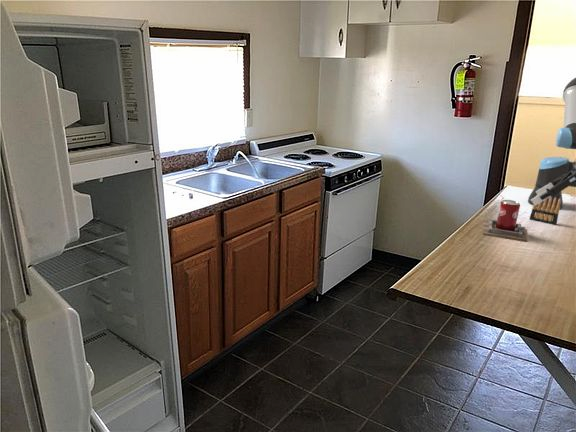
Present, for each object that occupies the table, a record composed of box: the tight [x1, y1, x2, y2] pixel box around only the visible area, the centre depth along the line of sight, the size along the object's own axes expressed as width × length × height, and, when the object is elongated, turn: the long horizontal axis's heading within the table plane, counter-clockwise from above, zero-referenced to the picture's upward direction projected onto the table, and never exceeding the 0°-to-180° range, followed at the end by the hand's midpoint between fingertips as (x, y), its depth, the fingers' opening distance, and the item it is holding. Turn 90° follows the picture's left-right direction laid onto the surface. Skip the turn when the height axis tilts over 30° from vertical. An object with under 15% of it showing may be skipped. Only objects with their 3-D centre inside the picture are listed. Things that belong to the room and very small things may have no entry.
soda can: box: [496, 199, 521, 231], centre depth 195 cm, size 7×7×12 cm
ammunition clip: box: [528, 194, 561, 226], centre depth 209 cm, size 11×2×12 cm, turn 54°
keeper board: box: [482, 218, 528, 243], centre depth 197 cm, size 16×16×2 cm
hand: (535, 198), depth 187 cm, fingers open, 13 cm apart
